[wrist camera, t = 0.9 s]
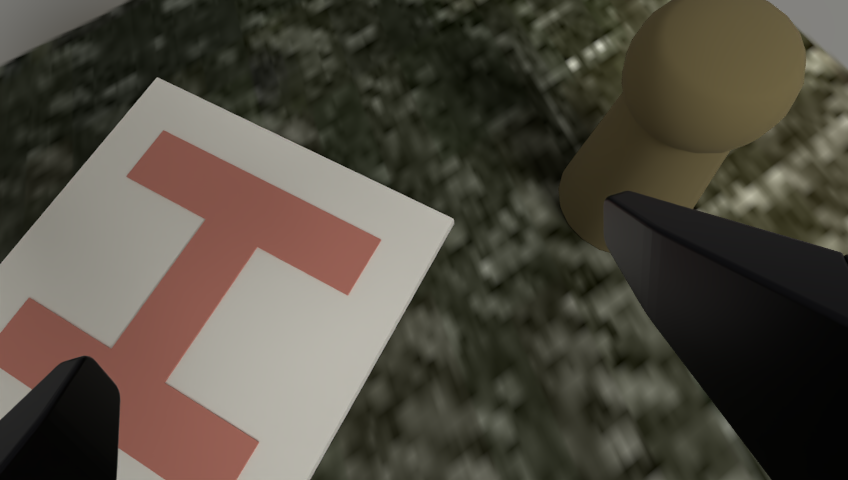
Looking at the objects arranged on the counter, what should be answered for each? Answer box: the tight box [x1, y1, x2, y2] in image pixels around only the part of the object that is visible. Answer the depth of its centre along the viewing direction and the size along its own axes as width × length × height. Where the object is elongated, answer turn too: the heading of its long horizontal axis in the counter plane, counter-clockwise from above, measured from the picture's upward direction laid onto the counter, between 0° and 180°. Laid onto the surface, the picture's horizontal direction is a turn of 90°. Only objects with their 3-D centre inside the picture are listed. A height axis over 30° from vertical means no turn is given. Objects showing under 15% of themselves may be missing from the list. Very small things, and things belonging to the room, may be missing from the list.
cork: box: [559, 0, 806, 252], centre depth 21 cm, size 6×6×11 cm
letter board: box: [0, 77, 454, 480], centre depth 25 cm, size 18×18×1 cm
